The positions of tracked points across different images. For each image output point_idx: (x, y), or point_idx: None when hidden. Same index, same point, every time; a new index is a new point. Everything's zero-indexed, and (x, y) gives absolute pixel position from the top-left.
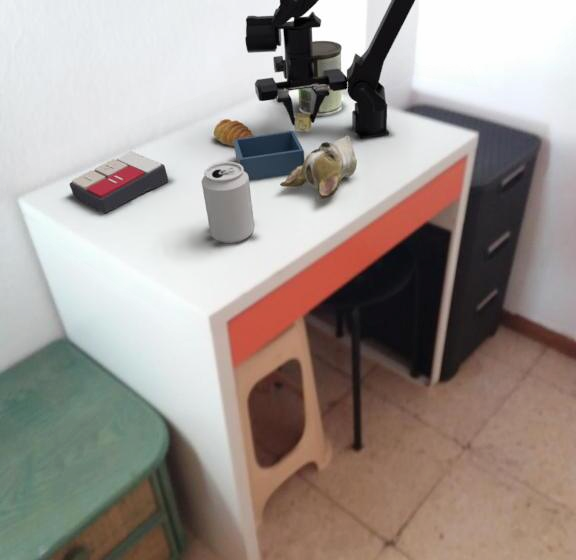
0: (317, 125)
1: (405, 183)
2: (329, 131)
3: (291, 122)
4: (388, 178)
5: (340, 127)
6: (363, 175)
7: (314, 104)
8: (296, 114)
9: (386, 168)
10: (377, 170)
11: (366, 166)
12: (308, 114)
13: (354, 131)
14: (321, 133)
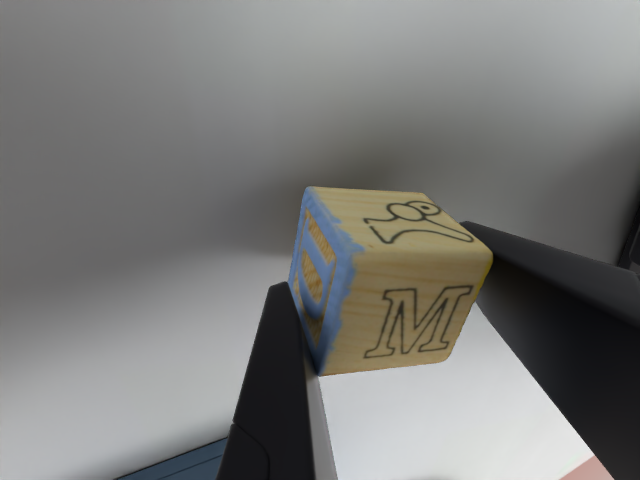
0: (472, 48)
1: (564, 475)
2: (517, 178)
3: (267, 297)
4: (542, 470)
5: (607, 113)
6: (493, 476)
7: (613, 467)
8: (344, 295)
9: (565, 437)
10: (538, 450)
11: (522, 441)
12: (470, 279)
13: (635, 245)
14: (460, 209)
